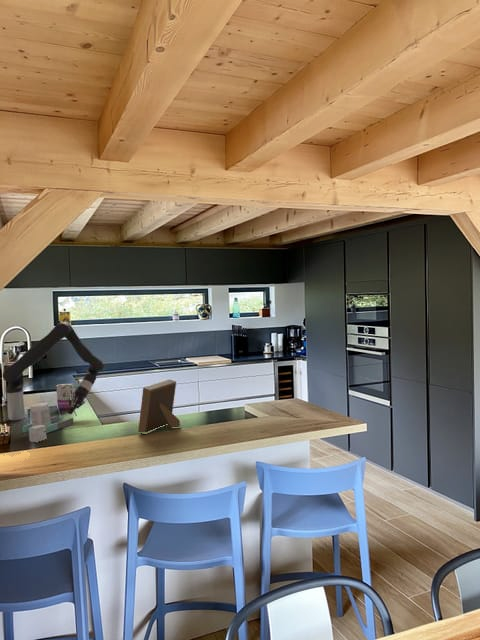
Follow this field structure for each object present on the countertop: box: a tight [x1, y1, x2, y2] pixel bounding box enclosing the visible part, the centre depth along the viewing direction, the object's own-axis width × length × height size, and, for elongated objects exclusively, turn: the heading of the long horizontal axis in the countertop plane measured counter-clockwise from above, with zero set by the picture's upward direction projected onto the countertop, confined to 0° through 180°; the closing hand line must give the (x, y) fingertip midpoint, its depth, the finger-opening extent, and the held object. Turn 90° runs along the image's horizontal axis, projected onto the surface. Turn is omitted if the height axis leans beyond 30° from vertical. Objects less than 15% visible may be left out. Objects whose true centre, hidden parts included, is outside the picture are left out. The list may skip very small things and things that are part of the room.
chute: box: [22, 415, 75, 434], centre depth 271 cm, size 15×22×4 cm
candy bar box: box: [55, 383, 76, 410], centre depth 318 cm, size 11×5×16 cm, turn 80°
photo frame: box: [137, 379, 181, 433], centre depth 250 cm, size 15×22×25 cm
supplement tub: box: [30, 402, 51, 426], centre depth 267 cm, size 10×10×15 cm
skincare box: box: [28, 425, 48, 443], centre depth 248 cm, size 6×6×7 cm
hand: (69, 413), depth 284 cm, fingers closed
